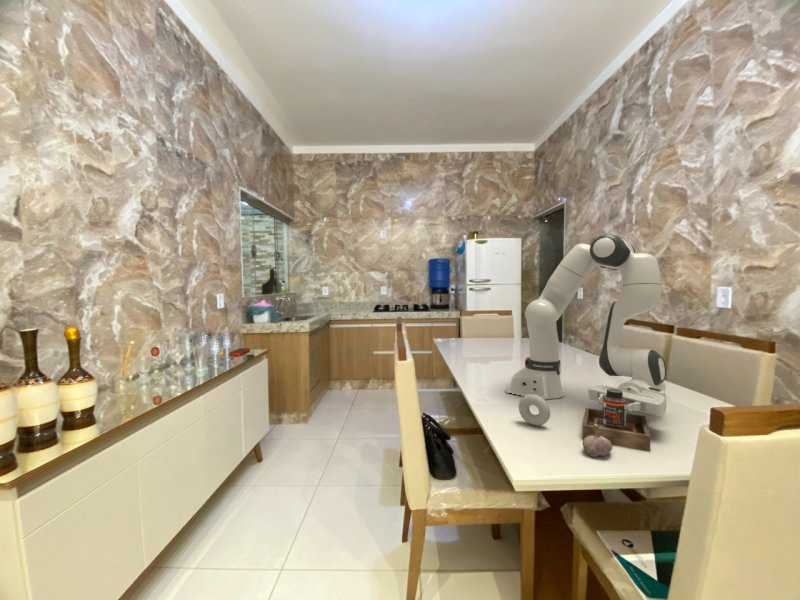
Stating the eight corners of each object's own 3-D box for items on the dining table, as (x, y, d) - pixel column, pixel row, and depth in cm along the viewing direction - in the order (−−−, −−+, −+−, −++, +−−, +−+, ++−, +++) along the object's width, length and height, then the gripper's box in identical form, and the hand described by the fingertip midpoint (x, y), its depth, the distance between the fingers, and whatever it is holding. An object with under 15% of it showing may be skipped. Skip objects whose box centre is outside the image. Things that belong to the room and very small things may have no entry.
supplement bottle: (603, 429, 102) (603, 391, 102) (602, 422, 107) (602, 386, 107) (627, 433, 99) (627, 394, 99) (625, 425, 105) (625, 388, 104)
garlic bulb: (590, 460, 89) (590, 430, 88) (575, 447, 96) (575, 419, 96) (620, 459, 89) (619, 429, 88) (603, 446, 96) (603, 418, 96)
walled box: (582, 438, 101) (582, 425, 101) (585, 419, 114) (585, 407, 114) (650, 451, 92) (650, 436, 92) (644, 429, 106) (644, 416, 106)
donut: (516, 423, 113) (516, 392, 113) (521, 419, 116) (520, 390, 116) (548, 431, 107) (547, 399, 106) (552, 427, 109) (551, 396, 109)
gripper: (599, 378, 119) (578, 386, 111) (672, 392, 102) (652, 403, 94) (599, 396, 119) (578, 405, 111) (672, 413, 102) (652, 426, 94)
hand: (613, 404), depth 103 cm, fingers closed on supplement bottle, 6 cm apart
